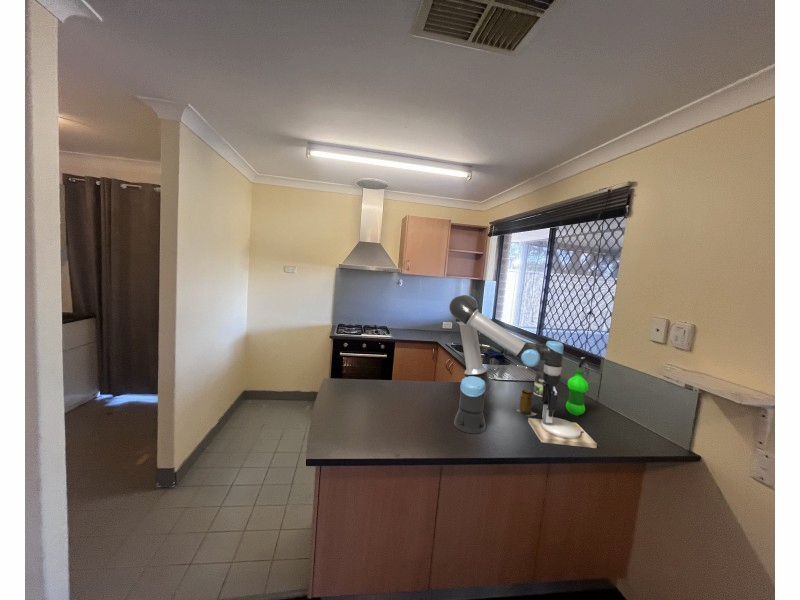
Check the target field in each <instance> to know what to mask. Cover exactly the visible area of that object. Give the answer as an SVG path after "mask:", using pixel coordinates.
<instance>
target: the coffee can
mask: <svg viewBox="0 0 800 600" xmlns="http://www.w3.org/2000/svg"><path fill="white" fill-rule="evenodd" d="M534 373H535V376H534V386H533V391H532V394H534V395H535V396H538V397H541V398H542V393H543V382H545V381H544V380H543V373H544V370H536V371H535V372H534Z"/></svg>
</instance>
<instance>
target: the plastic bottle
mask: <svg viewBox="0 0 800 600" xmlns="http://www.w3.org/2000/svg"><path fill="white" fill-rule="evenodd" d="M584 372H585V371H584V370H582V369H580V368H579V369H578V368H577V369H575V370H574V374H575V375H574V376H572V377H569V378H568V380H567V388H568V389H569V390H568V399H567V401H566V402H565V408H566V411H567V412H568V413H569V414H570V415H573V416H577V417H579V416H580V415H583V414H584V413H585V411H586V406H585V395H586V392H588V391H589V383H588V381H587V380H585V378H584V377H583V375H584Z"/></svg>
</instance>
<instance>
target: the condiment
mask: <svg viewBox="0 0 800 600" xmlns="http://www.w3.org/2000/svg"><path fill="white" fill-rule="evenodd" d="M532 404H533V391H532V390H530V389H522V391H521V394H520V403H519V409H516V410H515V411H516V412H519V413H520V414H523V416H526V417H533V416H536V415H537V413H536V412H533V411H532V407H533V405H532Z"/></svg>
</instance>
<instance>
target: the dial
mask: <svg viewBox="0 0 800 600" xmlns="http://www.w3.org/2000/svg"><path fill="white" fill-rule="evenodd" d="M543 405H544V412H543V411H542V414H543V417H542V418H541V419H542V422H541V426H542V428H543V429H544V430H545V431H547V432H548V433H550V434H552V435H555V436H558V437H562V438H567V439H576V438H579V437H580V434H581V429H580V428H579V427H578V426H577V425H575V424H574V423H575V422H573V423H572V421H569V420H567V419H562V418H559V417H554V416H553V419H552V423H548V422H546V414H547V409H546V408H548V404H543Z"/></svg>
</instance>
